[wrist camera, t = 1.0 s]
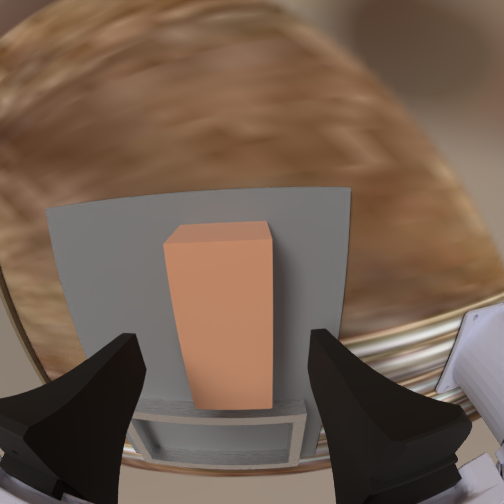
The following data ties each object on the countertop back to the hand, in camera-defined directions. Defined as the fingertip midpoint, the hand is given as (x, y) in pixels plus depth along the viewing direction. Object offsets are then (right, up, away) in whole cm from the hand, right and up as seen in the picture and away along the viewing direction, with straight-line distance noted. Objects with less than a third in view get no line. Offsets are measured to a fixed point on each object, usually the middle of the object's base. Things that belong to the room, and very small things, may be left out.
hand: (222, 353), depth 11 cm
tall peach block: (0, +1, +3) cm, 4 cm away
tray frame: (-2, -9, +7) cm, 12 cm away
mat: (-2, -4, +5) cm, 7 cm away
